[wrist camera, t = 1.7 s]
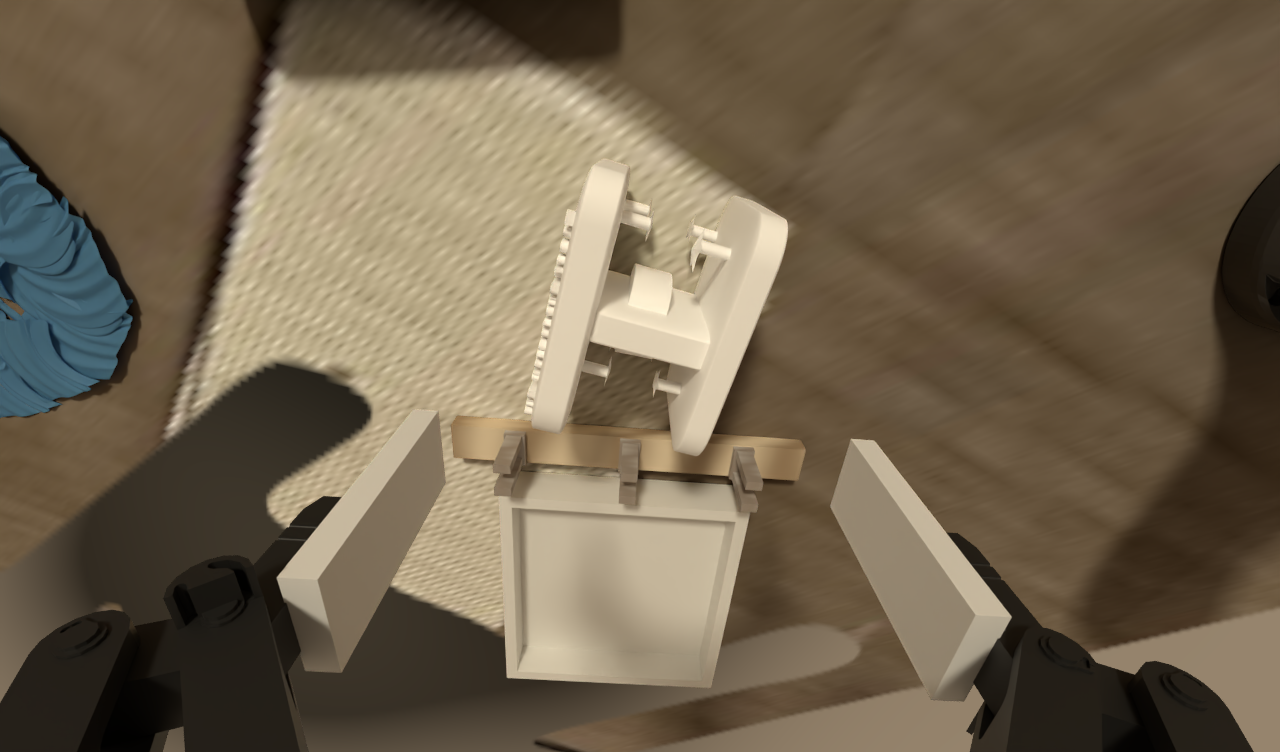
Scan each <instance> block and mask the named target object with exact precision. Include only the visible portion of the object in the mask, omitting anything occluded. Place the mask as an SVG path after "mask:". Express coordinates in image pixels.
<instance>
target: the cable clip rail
mask: <svg viewBox="0 0 1280 752" xmlns="http://www.w3.org/2000/svg"><path fill="white" fill-rule="evenodd" d="M451 432H452V443H453V454H454V458H468V459H483V460H495V461H494V463H493V473H500V475H499V477H498V480H497V482H496V484H495V487H494V496H508V497H511V496H512V493H513V490H514V487H515V484H516V482H517V479H518V476H519V473H520V470H521V468H522V466H525V464H526V462H528V463H543V464H557V465H572V466H587V467H602V468H617V469H618V472H620V487H619V504H632V505H635V499H636V482H637V479H638V470H647V471H662V472H677V473H692V474H707V475H721V476H728V477H729V479H730V480H732V482H733V485H734V489H735V493H736V497H737V500H738V504H739V508H740V511H741V512H756V513H757V509H758V502H757V499H756V496H755V493H754V490H758V491H762V487H763V480H762V478H766V479H781V480H796V481H798V478H799V474H800V470H801V466H802V463H803V459H804V455H805V451H806V449H805V448H804V446H803V444H802V442H801V440H796V439H781V438H767V437H753V436H739V435H724V434H712V435H711V437H710V439H709V442H708V443H707V445H706V447H705V449H704V450H703V451H702V453H701V454H700V455H698V456H693V455H689V454H685V453H680V452H676V451H674V450H673V447H672V438H671V431H667V430H653V429H639V428H624V427H610V426H596V425H582V424H567V423H566V425H565V427H564V429H563V431H562V432H561V433H560V434H556V433H551V432H547V431H543V430H539V429H535V428H533V427H532V422H531V421H525V420H510V419H496V418H482V417H467V416H457V417H456V418H455V420H454V421H453V423H452V425H451Z"/></svg>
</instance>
